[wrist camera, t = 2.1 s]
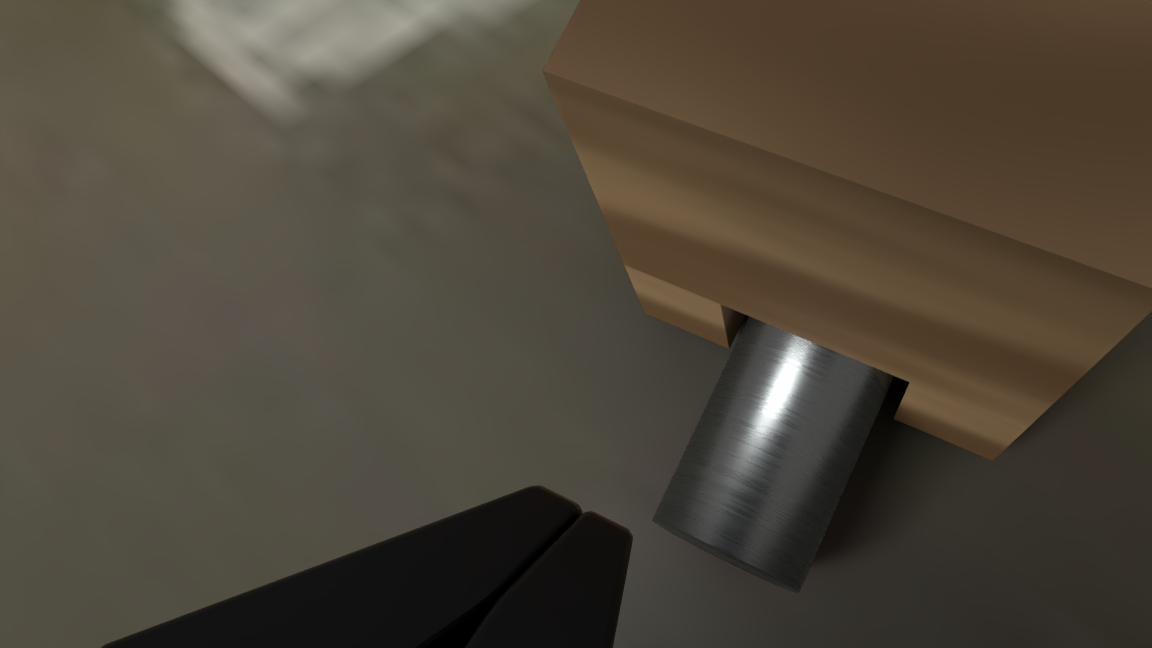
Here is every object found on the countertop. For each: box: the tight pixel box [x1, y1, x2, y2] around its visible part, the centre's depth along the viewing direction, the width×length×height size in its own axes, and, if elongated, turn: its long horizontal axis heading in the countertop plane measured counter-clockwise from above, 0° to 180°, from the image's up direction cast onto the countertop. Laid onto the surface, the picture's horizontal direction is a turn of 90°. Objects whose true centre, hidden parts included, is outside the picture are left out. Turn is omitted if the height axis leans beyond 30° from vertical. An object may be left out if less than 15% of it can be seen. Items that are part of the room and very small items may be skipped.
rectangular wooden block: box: [542, 0, 1152, 461], centre depth 17 cm, size 4×8×10 cm, turn 63°
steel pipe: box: [652, 316, 894, 593], centre depth 21 cm, size 16×3×3 cm, turn 153°
